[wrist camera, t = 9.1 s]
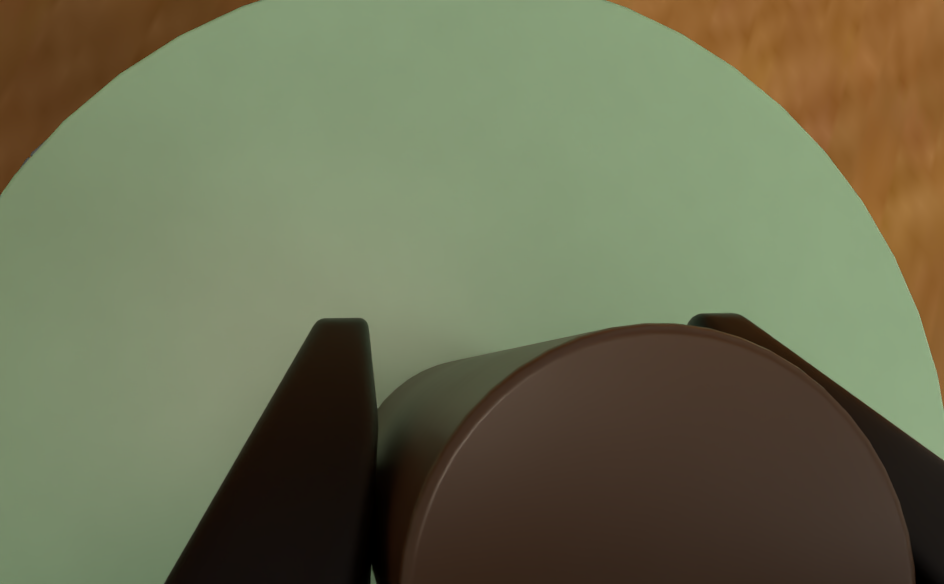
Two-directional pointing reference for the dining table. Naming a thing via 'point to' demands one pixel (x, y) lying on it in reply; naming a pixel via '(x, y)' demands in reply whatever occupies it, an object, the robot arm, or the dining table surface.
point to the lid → (457, 302)
